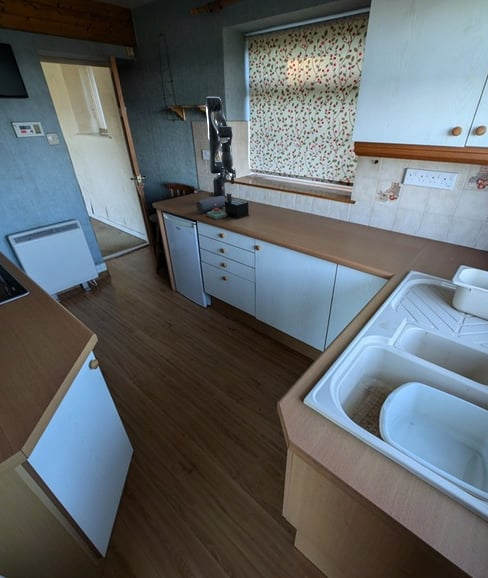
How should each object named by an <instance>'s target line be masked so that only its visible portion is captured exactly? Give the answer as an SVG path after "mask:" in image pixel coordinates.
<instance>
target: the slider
mask: <svg viewBox="0 0 488 578" xmlns="http://www.w3.org/2000/svg"><path fill="white" fill-rule="evenodd" d="M226 201H232V193H230V192H228V193H226Z"/></svg>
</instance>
